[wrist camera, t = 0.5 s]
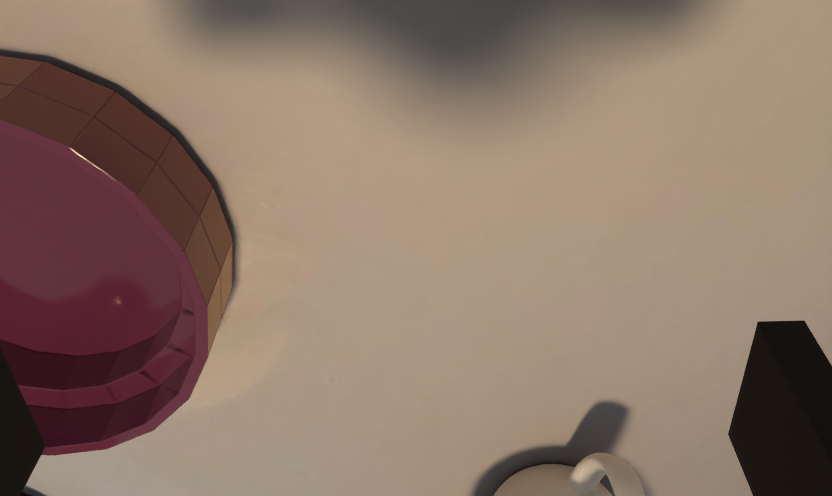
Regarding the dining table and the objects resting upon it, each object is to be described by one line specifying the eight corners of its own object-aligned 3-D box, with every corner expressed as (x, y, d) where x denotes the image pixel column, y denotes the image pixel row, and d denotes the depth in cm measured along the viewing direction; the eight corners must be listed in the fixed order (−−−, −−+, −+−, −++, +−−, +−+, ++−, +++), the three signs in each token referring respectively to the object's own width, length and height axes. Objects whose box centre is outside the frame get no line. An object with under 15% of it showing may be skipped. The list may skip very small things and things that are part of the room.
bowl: (-213, 20, 34) (-325, 73, 29) (236, 81, 35) (204, 142, 30) (-108, 352, 44) (-175, 432, 39) (233, 390, 46) (209, 472, 41)
